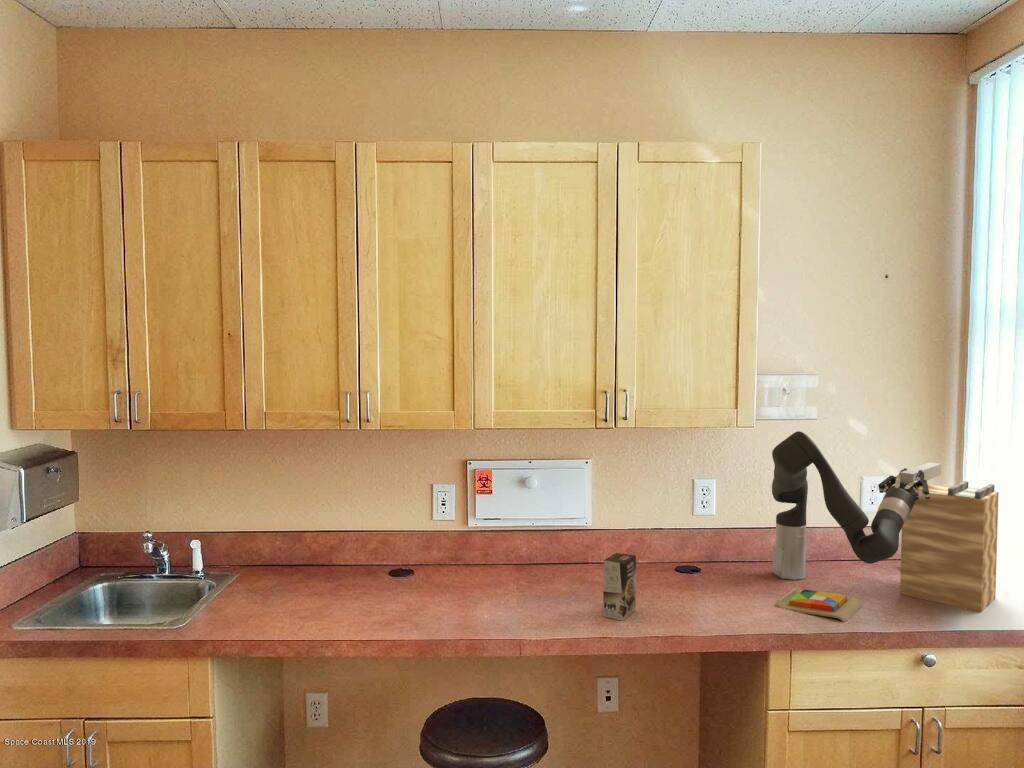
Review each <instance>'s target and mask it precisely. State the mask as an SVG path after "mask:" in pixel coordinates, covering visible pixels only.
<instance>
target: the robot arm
mask: <svg viewBox="0 0 1024 768" xmlns="http://www.w3.org/2000/svg"><path fill="white" fill-rule="evenodd" d="M771 457H772V460H773V464H774V469H773V479H772V482H771V483H772V484H771V492H772V493H771V495H772V498H773V499H774V500H775V502H778V503H785V504H796V505H795V506H794V507H792V508H791V509H788V510H784V511H780V512H778V513H777V514H776V516H775V544H773V546H772V574H774V575H775V576H776V577H779V578H781V579H786V580H797V579H798V580H803V579H805V578H806V568H807V567H806V565H807V564H806V563H807V560H806V559H807V558H806V557H807V555H806V554H807V506H808V505H807V504H808V490H809V487H808V486H809V484H808V482H809V481H808V480H807V476H808V469H807V468H808V467H809V466H810V465H812V464H813V465H814V466H815V467H816V470H817V472H818V474H819V476H820V481H821V486H822V491H823V498H824V499H823V500H824V504H825V506H826V509H827V511H828V512H829V514H830V515H831V517H832V518H833V519H834V520H835V521H836V523H837V524H838V525H839V527H841V529H842V530H843V531H844V533H845V535H846V538H847V541H848V542H849V545H850V547H851V549H852V551H853V553H854V554H855V556H856V557H857V558H858V559H859V560H860V561H862V562H863V563H865V564H868V565H869V564H871V565H872V564H875V563H878V562H882V561H884V560H887V559H890V558H892V557H894V555H896V553H897V552H898V550H899V546H900V545H899V543H900V542H899V541H900V532H902V526H903V524H904V523H905V522H906V520H907V519H908V517H909V515H910V512H911V510H912V508H913V506H914V504H915V501H916V500H918V499H919V498H920V497H925V499H930V494H929V489H928V484H929V483H928V480H925V479H924V472H922V470H919V471H918V474H917V476H916V478H915V480H914V481H911V482H910V483H909V484H903V483H901V479H900V472H903V471H906V470H908V468H907V467H906V468H905V467H904V468H903V469H901V470H900V471H899V472H898V474H897V475H896V476H894V475H889V476H888V477H886V478H885V479H884V480H882V481H881V482H880V483H879V484H878V485H877V486H878V491H879V493H881V494H884V493H885V494H884V496H883V498H882V500H881V502H880V504H879V506H878V508H877V511H876V513H875V515H874V518H873V519H872V521H871V523H870V524H871V525H870V529H871V532H872V533H871V534H868V535H867V534H866V533H865V532H864V529H865V528H866V527H867V526H868V525H869V522H870V521H869V517H868V516H867V515H866V513H865V512H864V511H863V509H862V508H861V507H860V506H859V505H858V504H857V502H856V501H855V500H854V499H853V498H852V496H851V495H850V494H849V493H848V491H847V489H846V488H845V487H844V485H843V484H842V482H841V480H840V478H839V477H838V476H837V474H836V473H835V471H834V469H833V468H832V466H831V465H830V464H829V462H828V459H826V457H825V456H824V454H823V453H822V451H821V450H820V448H819V447H818V446H817V444H816V443H815V441H814V440H812V439H811V437H810V436H808V435H807V434H806V433H805V432H803V431H798V430H797V431H795V432H793V433H792V434H790V435H789V436H788V437H786V438H785V439H784V440H783V441H781V442H780V443H778V444H777V445H776V446H775V447H774V448H773V449H772V452H771ZM923 479H924V480H923ZM927 483H928V484H927ZM921 486H922V487H923V489H922V490H921V492H920V493H918V492H917V491H918V489H919V488H920V487H921Z"/></svg>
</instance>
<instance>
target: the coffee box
mask: <svg viewBox="0 0 1024 768" xmlns="http://www.w3.org/2000/svg"><path fill="white" fill-rule="evenodd" d="M636 570H637V555H634V554H628V553H627V554H626V553H619V552H615V553H613V554H612V555H610V556H609V557H606V558H605V559H603V583H602V584H603V585H602V586H603V589H602V590H603V591H602V592H603V599H602V600H603V602H602V603H603V606H602V608H603V609H602V610H603V612H602V616H603V617H605V618H609V619H613V620H618V621H622V622H623V621H625V620H626V619H627V618H629V617H630V616H631V615H633V614H634V613H635V612H636V605H637V603H636V602H637V601H636V598H637V597H636V596H637V595H636V593H637V592H636V591H637V588H636V583H637V582H636V580H637V575H636V573H637V571H636Z"/></svg>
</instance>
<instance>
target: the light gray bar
mask: <svg viewBox="0 0 1024 768" xmlns="http://www.w3.org/2000/svg"><path fill="white" fill-rule="evenodd" d="M919 470H922V472H924V479H925V480H927V481H929V480H932V479H934V478H937V477H939V476H942V463H937V462H926V463H924V464H921V465H917V466H914V467H912V468H909V469H907V470H906V471H903V472H900V471H899V473H900V479H901V483H903V484H909V483H910V482H911V481H914V480H915V478H916V476H917V474H918V471H919ZM924 479H923V480H924Z"/></svg>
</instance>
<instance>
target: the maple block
mask: <svg viewBox="0 0 1024 768" xmlns="http://www.w3.org/2000/svg"><path fill="white" fill-rule="evenodd" d="M927 484H928V489H929V494H930V499H925V497H920V498H919V499H918V500H916V501H915V504H914V506H913V508H912V510H911V512H910V515H909V517H908V519H907V520H906V522H905V523H904V524H903V526H902V528H901V538H900V539H901V542H900V544H901V545H900V549H901V550H900V586H899V588H900V591H899V594H900V595H903V596H908V597H913V598H915V599H916V598H917V599H921V600H924V601H925V600H926V601H928V602H929V601H931V602H935V603H939V604H942V603H943V605H948V606H952V607H955V608H956V607H957V608H960V607H961V609H964V608H966V609H965V610H969V609H970V610H969V611H973V610H975V611H974V612H978V611H979V613H982V612H983V611H984V610H985V609H986V608H987V607H988V606H989V605H991V603H992V602H993V601H995V599H996V595H997V593H996V590H997V588H996V587H997V556H998V526H999V525H998V522H999V521H998V520H999V519H998V518H999V517H998V516H999V491H995V484H993V483H992V484H991V483H990V484H987V485H985V486H983V487H982V488H976V487H975V488H974V487H969V481H966V480H963V481H961V482H959V483H956V484H954V485H953V486H951V485H943V484H935V483H928V482H927ZM922 489H923V487H922V486H921V487H920V488H919V489H918V491H917V492H918V493H920V492H921V490H922Z"/></svg>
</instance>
